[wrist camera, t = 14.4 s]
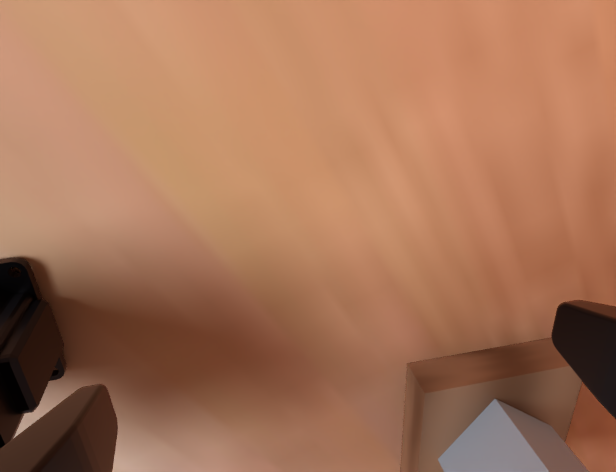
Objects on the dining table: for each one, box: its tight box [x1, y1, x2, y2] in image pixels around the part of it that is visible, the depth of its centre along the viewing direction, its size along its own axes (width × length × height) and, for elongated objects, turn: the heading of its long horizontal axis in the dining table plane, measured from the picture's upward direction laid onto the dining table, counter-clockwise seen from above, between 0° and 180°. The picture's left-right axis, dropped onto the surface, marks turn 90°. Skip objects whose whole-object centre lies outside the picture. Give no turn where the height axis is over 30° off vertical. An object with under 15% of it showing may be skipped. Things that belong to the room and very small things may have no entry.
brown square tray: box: [400, 338, 582, 472], centre depth 29 cm, size 10×10×3 cm
